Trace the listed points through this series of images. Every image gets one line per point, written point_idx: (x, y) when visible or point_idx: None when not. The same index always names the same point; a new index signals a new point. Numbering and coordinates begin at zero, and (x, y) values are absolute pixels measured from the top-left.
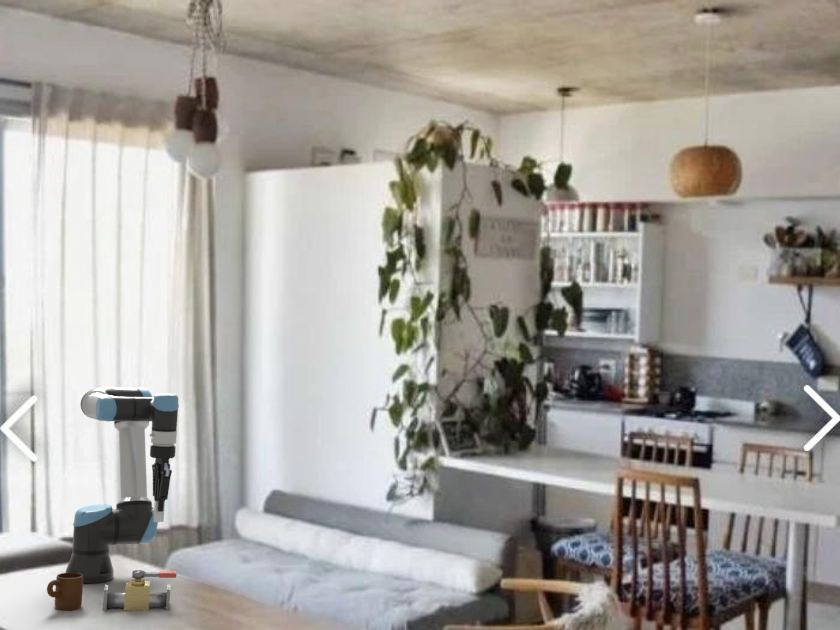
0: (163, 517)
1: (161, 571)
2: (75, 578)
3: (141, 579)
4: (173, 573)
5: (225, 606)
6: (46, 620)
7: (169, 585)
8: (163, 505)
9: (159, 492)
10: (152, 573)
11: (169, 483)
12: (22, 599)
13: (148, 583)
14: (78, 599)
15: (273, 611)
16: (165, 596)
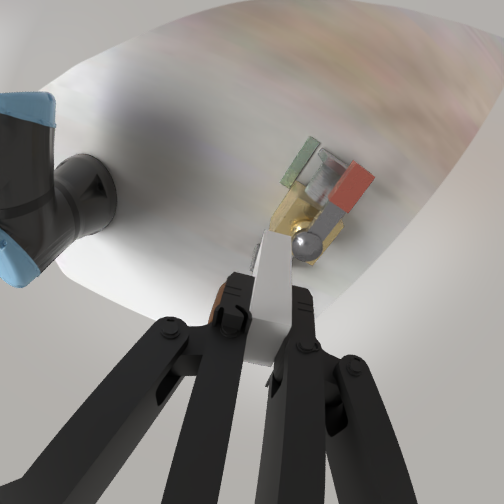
0: (290, 250)
1: (336, 199)
2: None
3: (302, 226)
4: (370, 183)
5: (397, 69)
6: None
7: (334, 163)
8: (313, 319)
9: (328, 435)
10: (334, 224)
11: (411, 486)
12: (173, 315)
13: (317, 213)
14: None
15: (460, 39)
16: None
